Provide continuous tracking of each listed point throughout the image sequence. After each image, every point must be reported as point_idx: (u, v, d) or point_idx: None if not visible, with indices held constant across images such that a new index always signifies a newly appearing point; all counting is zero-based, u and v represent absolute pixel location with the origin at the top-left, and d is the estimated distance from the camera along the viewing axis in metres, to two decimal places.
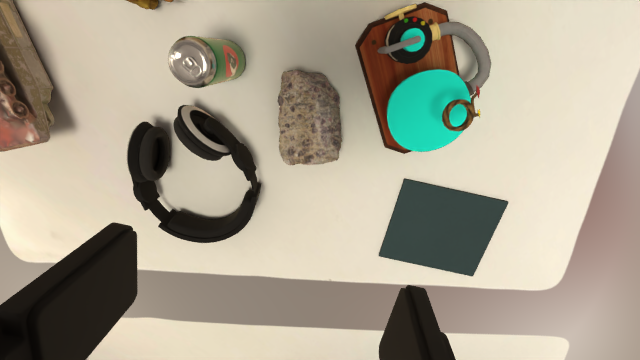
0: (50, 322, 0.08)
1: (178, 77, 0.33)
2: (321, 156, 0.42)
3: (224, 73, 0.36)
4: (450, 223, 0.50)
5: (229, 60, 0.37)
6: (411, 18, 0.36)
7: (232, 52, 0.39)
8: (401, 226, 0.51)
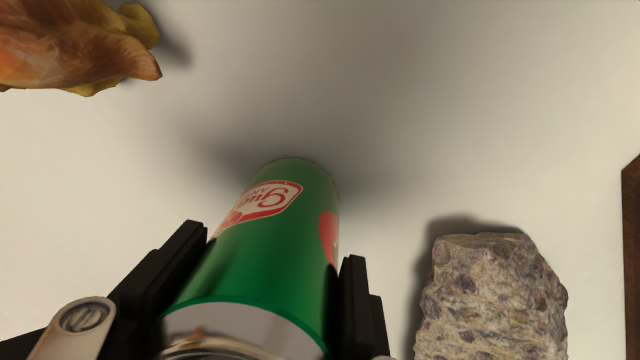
0: (156, 306, 0.09)
1: None
2: None
3: None
4: None
5: (337, 274, 0.12)
6: None
7: (333, 224, 0.13)
8: None
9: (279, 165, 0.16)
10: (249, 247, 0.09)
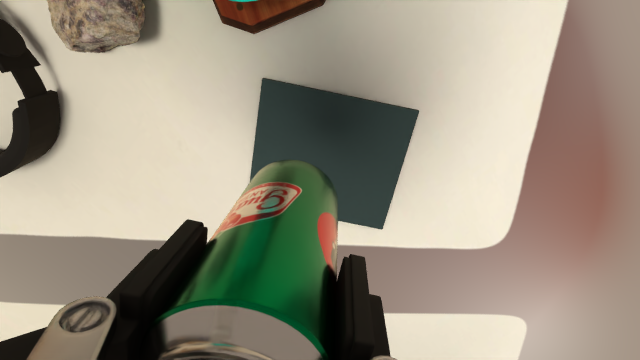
0: (156, 306, 0.09)
1: None
2: (97, 23, 0.26)
3: None
4: (339, 148, 0.34)
5: (336, 276, 0.12)
6: None
7: (332, 226, 0.13)
8: (270, 155, 0.35)
9: (279, 167, 0.16)
10: (248, 250, 0.09)
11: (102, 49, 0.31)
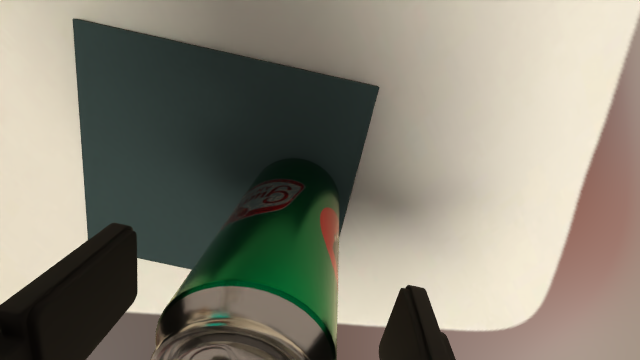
0: (50, 322, 0.07)
1: None
2: None
3: None
4: (235, 156, 0.18)
5: None
6: None
7: (334, 220, 0.14)
8: (113, 167, 0.19)
9: (282, 165, 0.17)
10: (256, 238, 0.10)
11: None
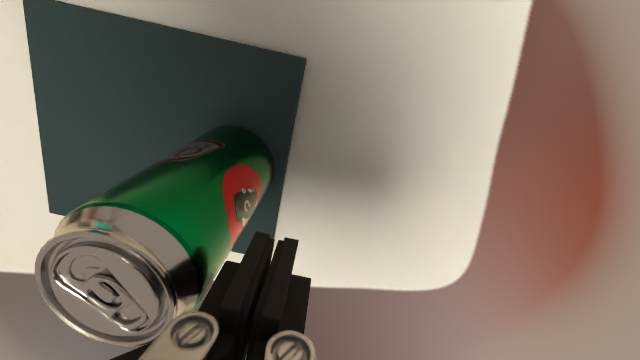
0: (248, 319, 0.09)
1: (77, 324, 0.10)
2: None
3: (226, 256, 0.13)
4: (179, 124, 0.20)
5: (240, 214, 0.14)
6: None
7: (248, 177, 0.16)
8: (68, 135, 0.21)
9: (215, 130, 0.18)
10: (147, 177, 0.11)
11: None
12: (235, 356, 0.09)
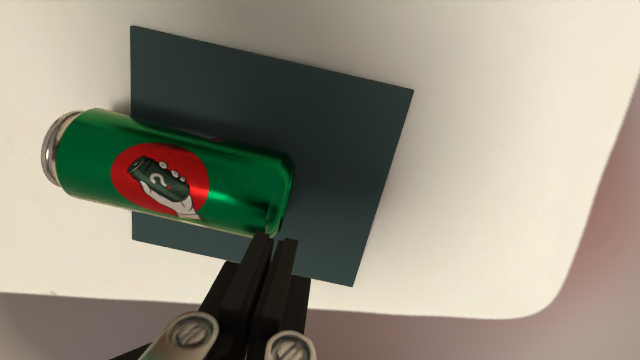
0: (248, 320, 0.09)
1: None
2: None
3: (113, 193, 0.16)
4: None
5: (139, 174, 0.15)
6: None
7: (187, 166, 0.15)
8: None
9: (265, 147, 0.18)
10: None
11: None
12: (235, 356, 0.09)
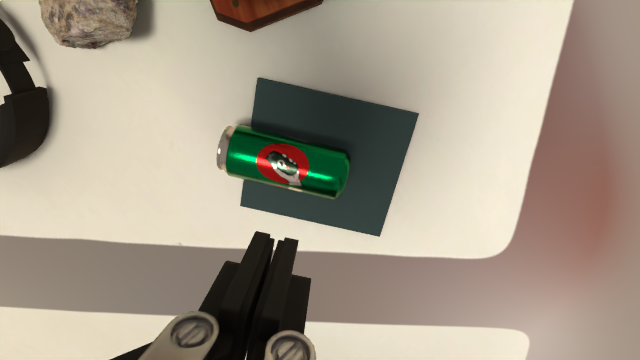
0: (248, 319, 0.09)
1: None
2: (87, 16, 0.26)
3: (255, 171, 0.29)
4: None
5: (272, 160, 0.29)
6: None
7: (297, 156, 0.29)
8: None
9: None
10: (260, 129, 0.31)
11: (93, 45, 0.30)
12: (235, 356, 0.09)
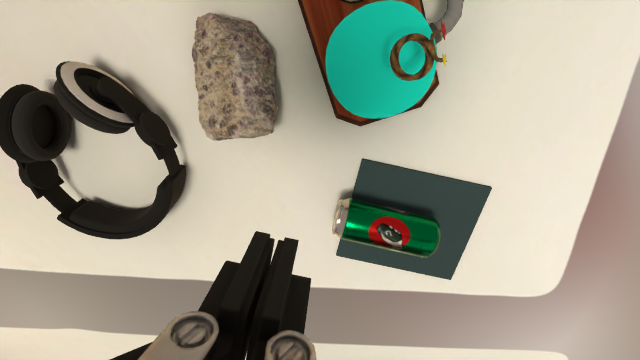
0: (248, 319, 0.09)
1: (333, 224, 0.40)
2: (247, 127, 0.33)
3: (367, 238, 0.37)
4: None
5: (381, 231, 0.36)
6: None
7: (400, 227, 0.36)
8: None
9: (423, 214, 0.39)
10: (366, 201, 0.38)
11: None
12: (235, 356, 0.09)
